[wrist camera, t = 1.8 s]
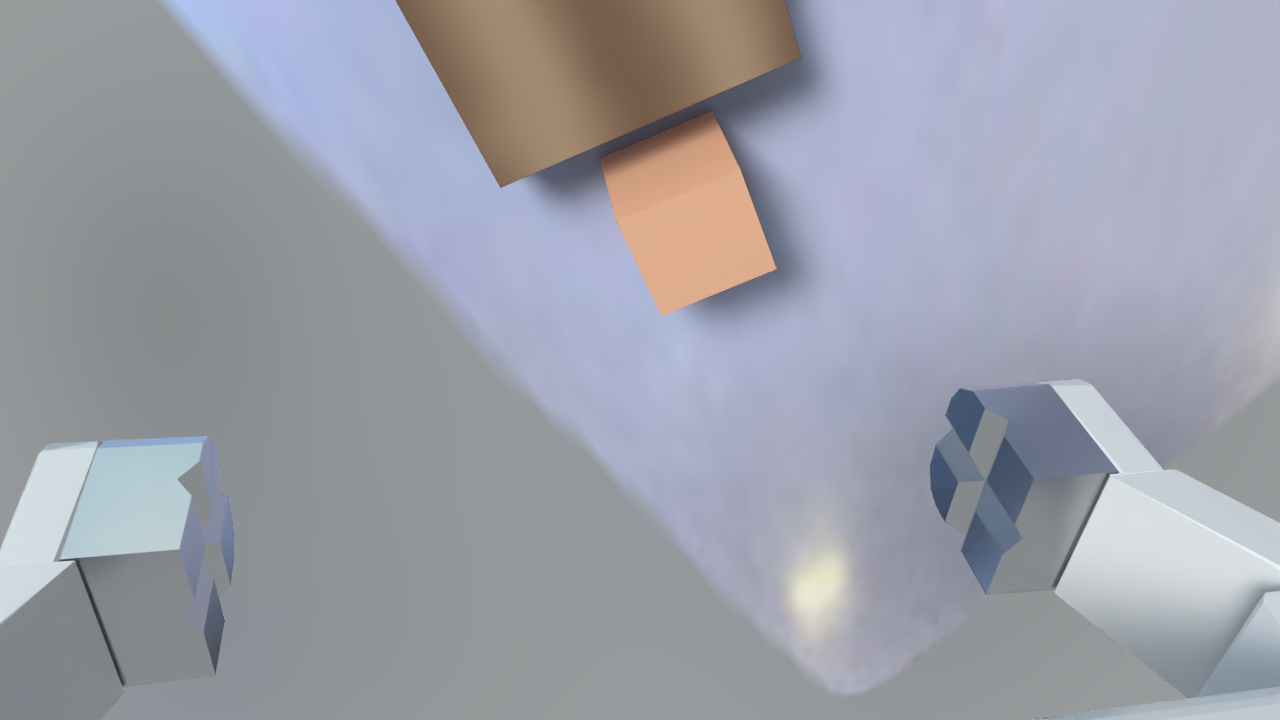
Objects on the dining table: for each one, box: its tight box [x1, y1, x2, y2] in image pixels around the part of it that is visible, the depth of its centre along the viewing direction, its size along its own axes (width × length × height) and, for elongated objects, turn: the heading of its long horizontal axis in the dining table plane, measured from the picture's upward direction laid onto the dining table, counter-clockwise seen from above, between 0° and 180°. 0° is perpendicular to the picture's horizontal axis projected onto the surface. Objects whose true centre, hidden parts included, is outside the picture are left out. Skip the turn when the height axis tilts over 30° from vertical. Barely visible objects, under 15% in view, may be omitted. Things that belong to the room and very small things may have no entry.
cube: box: [599, 111, 777, 316], centre depth 42 cm, size 5×5×5 cm
